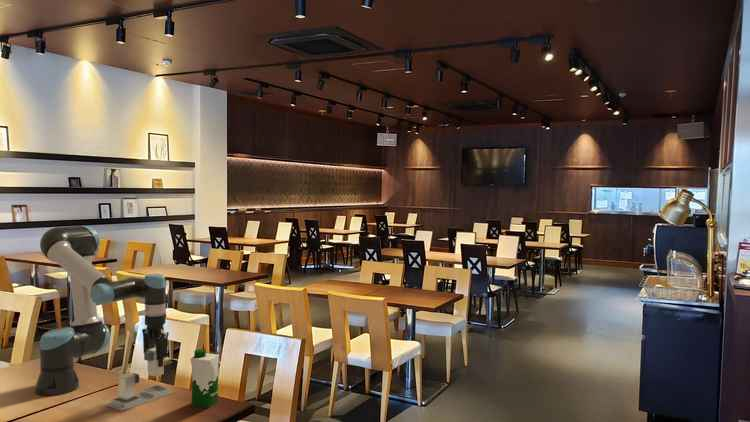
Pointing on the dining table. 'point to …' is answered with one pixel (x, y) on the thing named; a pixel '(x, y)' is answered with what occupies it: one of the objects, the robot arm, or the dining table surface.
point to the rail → (141, 397)
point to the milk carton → (204, 378)
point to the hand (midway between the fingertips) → (155, 373)
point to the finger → (152, 361)
